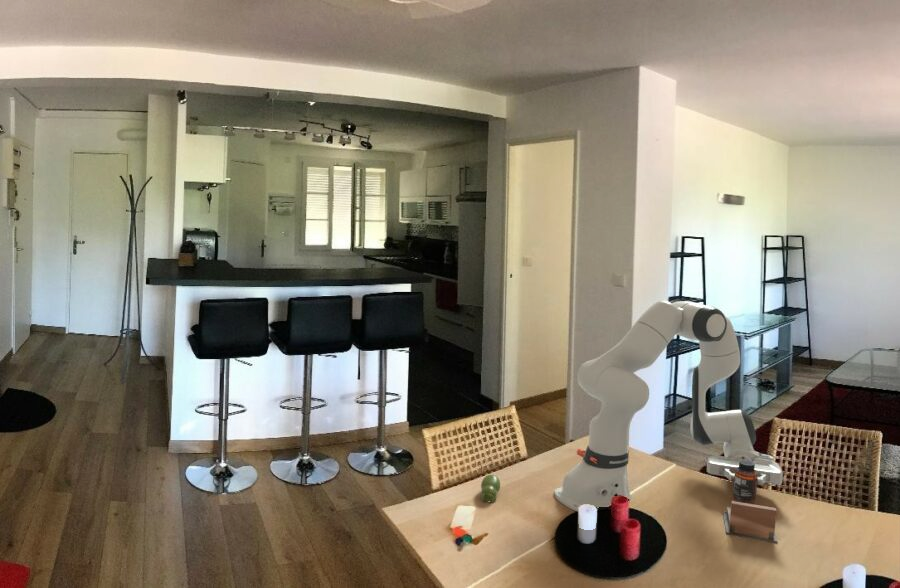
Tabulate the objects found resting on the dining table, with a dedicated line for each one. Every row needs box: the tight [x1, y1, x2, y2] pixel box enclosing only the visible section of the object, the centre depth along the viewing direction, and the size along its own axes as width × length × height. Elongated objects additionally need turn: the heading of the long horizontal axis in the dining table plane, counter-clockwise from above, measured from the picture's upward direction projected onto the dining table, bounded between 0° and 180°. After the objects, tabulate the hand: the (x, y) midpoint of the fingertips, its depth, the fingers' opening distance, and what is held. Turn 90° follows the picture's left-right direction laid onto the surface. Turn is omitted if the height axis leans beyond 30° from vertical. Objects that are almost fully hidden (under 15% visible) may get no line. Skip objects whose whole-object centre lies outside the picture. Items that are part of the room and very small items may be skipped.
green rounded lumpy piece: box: [480, 474, 501, 503], centre depth 180 cm, size 6×5×10 cm
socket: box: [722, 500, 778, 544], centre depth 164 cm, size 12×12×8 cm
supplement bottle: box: [732, 460, 758, 504], centre depth 176 cm, size 6×6×11 cm
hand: (746, 480), depth 175 cm, fingers closed on supplement bottle, 6 cm apart
